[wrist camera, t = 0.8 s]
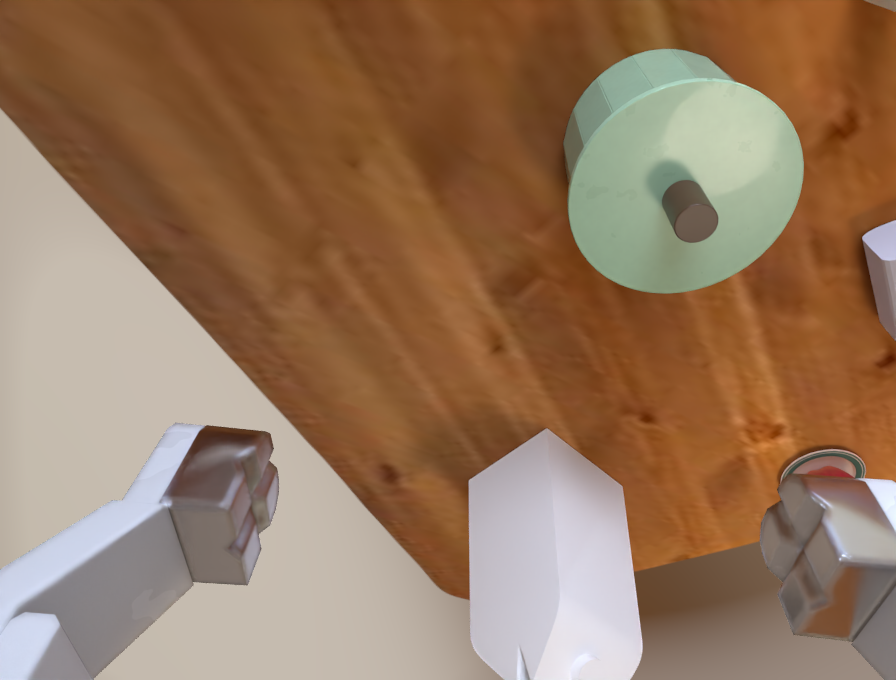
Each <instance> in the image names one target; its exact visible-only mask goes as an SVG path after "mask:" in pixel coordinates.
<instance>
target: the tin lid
mask: <svg viewBox="0 0 896 680" xmlns="http://www.w3.org/2000/svg"><path fill="white" fill-rule="evenodd" d="M803 168H804V163H803V154H802V148H801V145H800V141H799V138H798V135H797V133H796V131H795V129H794V127H793V125H792V123H791V122H790V120H789V119H788V117H787V116H786V115H785V113H784V112H783V111H782V110H781V109H780V108H779V107H778V106H777V105H776V104H775V103H774V102H773V101H772V100H770V99H769V98H767V97H766V96H765V95H763V94H762V93H760V92H759V91H757V90H755V89H752V88H750V87H748V86H746V85H744V84H740V83H737V82H734V81H730V80H723V79H717V78H694V79H686V80H679V81H675V82H671V83H668V84H664V85H661V86H659V87H656V88H653V89H651V90H648V91H646V92H644V93H642V94H641V95H639V96H637V97H635V98H633V99H631V100H630V101H628V102H627V103H626V104H624V105H623V106H621V107H620V108H618V109H617V110H616V111H615V112H614V113H612V114H611V115H610V116H609V117H608V118H607V119H606V120H605V121H604V122H603V123H602V124H601V125H600V126H599V127H598V128H597V129H596V131H595V132H594V133H593V134H592V136H591V137H590V139H589V140H588V141H587V143H586V144H585V146H584V148H583V150H582V151H581V153H580V155H579V157H578V159H577V161H576V164H575V166H574V169H573V172H572V175H571V179H570V183H569V189H568V199H567V202H568V216H569V222H570V227H571V231H572V234H573V236H574V239H575V242H576V244H577V245H578V247H579V249H580V251H581V253H582V254H583V255H584V257H585V258H586V259H587V261H588V262H589V263H590V264H591V265H592V266H593V267H594V268H595V269H596V270H597V271H599V272H600V273H601V274H603V275H604V276H605V277H607V278H609V279H610V280H612V281H614V282H616V283H618V284H620V285H623V286H625V287H628V288H631V289H635V290H638V291H643V292H650V293H680V292H686V291H692V290H697V289H700V288H704V287H707V286H710V285H713V284H715V283H718V282H720V281H723V280H725V279H727V278H728V277H730V276H732V275H734V274H736V273H738V272H739V271H741V270H742V269H744V268H745V267H747V266H748V265H750V264H751V263H752V262H753V261H755V260H756V259H757V258H758V257H760V256H761V255H762V254H763V253H764V252H765V251H766V250H767V249H768V248H769V247H770V246H771V245H772V244H773V242H774V241H775V240H776V239H777V237H778V236H779V235H780V234H781V232H782V231H783V229H784V228H785V226H786V225H787V223H788V221H789V220H790V218H791V216H792V213H793V211H794V209H795V207H796V204H797V201H798V198H799V195H800V192H801V187H802V182H803Z"/></svg>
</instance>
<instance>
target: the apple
mask: <svg viewBox="0 0 896 680" xmlns="http://www.w3.org/2000/svg"><path fill="white" fill-rule="evenodd" d="M790 473H795V474H809V475H823V476H837V477H851V478H855V479H856V478H864V477H865V474H866V467H865V464H864V462H863V461H862V459H861V458H860V457H859V456H857V455H856V454H854V453H851V452H849V451H845V450H837V449H829V450H821V451H816V452H812V453H809V454H807V455H804V456H802V457H800V458H798V459H797V460H795V461H794V462H792V463H791V464H790V465H789V466H788V467H787V468H786V469H785V471H784V472H783V474H782V476H781V480H780V483H781V481H782V479H783V478H784V477H786V476H787V475H788V474H790Z"/></svg>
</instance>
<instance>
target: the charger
mask: <svg viewBox="0 0 896 680" xmlns="http://www.w3.org/2000/svg"><path fill="white" fill-rule="evenodd" d="M862 240H863V245H864V249H865V254H866V259H867V263H868V268H869V273H870V278H871V282H872V287H873V292H874V296H875V301H876V306H877V310H878V315H879V320H880V323H881V324H882V326H883V327H884V328H885V329H886V330H887V332H888V333H889V334H890V335H891V336H892V338H893V339H894V340H895V341H896V220H894V221H892V222H889V223H886V224H884V225H881V226H879V227H877V228H874V229H873V230H871V231H869V232H867V233H866V234H865V235H864V236H863V237H862Z"/></svg>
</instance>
